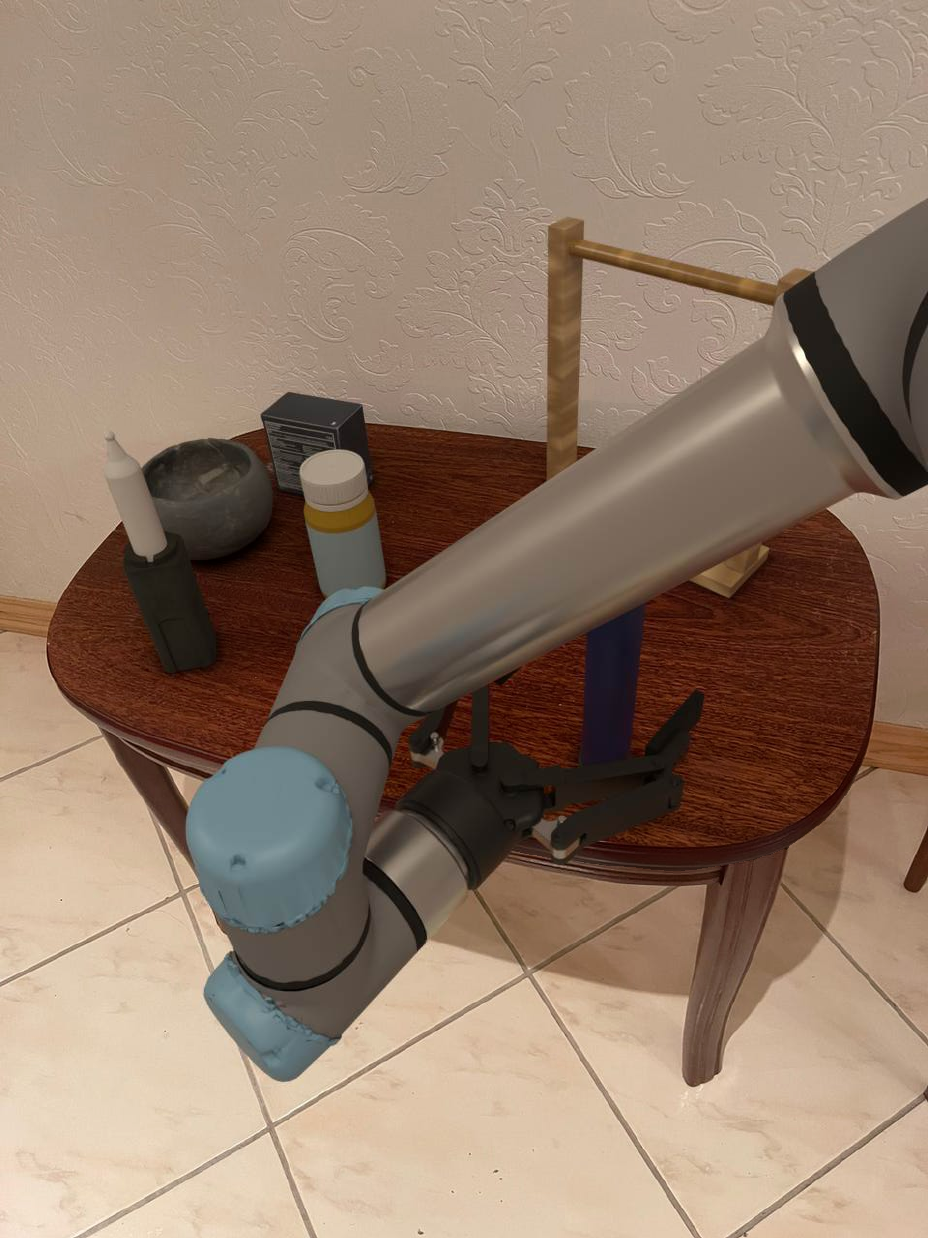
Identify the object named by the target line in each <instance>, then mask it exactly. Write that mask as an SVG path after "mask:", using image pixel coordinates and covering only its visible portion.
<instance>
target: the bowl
mask: <svg viewBox="0 0 928 1238" xmlns="http://www.w3.org/2000/svg"><path fill="white" fill-rule="evenodd" d="M141 470H142V473H143V475H144V478H145V481H146V484H147V487H148V489H149V492H150V495H151V498H152V501H153V503H154V506H155V509H156V512H157V515H158V517H159V520H160V523H161V526H162V529H163V531H167V532H170V533H176V534H179V535H181V537H182V538H183V541H184V544H185V547H186V550H187V553H188V556H189V559H190V561H191V560H192V561H208V560H209V561H210V560H216V559H219V558H222V557H226V556H228V555H232V554H234V553H236V552H237V551H241V549H244V548H246V546H248V545H250V544H251V543H252V542H254V541H255V540H256V539H257V538H258V537H259V536H260V535H261V534H262V533H263V532H264V531H265V529H266V528H267V526H268V525H269V523H270V520H271V518H272V511H273V506H274V505H273V503H274V495H273V493H274V492H273V485H272V481H271V478H270V475H269V473H268V470H267V468H266V467H265V465H264V463H263V461H262V460H261V459H260V458H259V456H258V455H257V453H255V452H254V450H253V449H252V448H250V447H249V446H248V445H245V444H243V443H241V442H239V441H235V440H231V439H226V438H214V437H208V438H199V439H193V440H187V441H182V442H180V443H178V444H174V445H171V446H168V447H166V448H165V449H163V450H162V451H160V452H158V453H157V454H155V455H154V456H153V457H151V458H150V459H149V460H147V462H145V463H144V465H142V467H141Z"/></svg>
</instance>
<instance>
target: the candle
mask: <svg viewBox="0 0 928 1238" xmlns="http://www.w3.org/2000/svg"><path fill="white" fill-rule="evenodd" d="M103 438H104V440H105V441H106V461H105V464H104V466H103V476H104V478H105V481H106V483H107V486H108V489H109V491H110V493H111V496H112V499H113V501H114V504H115V506H116V509H117V511H118V514H119V517H120V520H121V522H122V524H123V527H124V529H125V532H126V535H127V537H128V539H129V541H128V543H126V545H125V547H124V549H123V550H124V555H123V561H122V562H123V563H122V570H123V573H124V575H125V578H126V580H127V582H128V584H129V587H130V589H131V592H132V595H133V596H134V599H135V602H136V604H137V607H138V609H139V612H140V614H141V616H142V619H143V621H144V624H145V626H146V628H147V631H148V633H149V636H150V638H151V641H152V643H153V645H154V649H155V650H156V653H157V655H158V658H159V660H160V663H161V665H162V668H163V670H164V672H166V673H167V674H172V675H173V674H178V672H183V671H190V670H194V669H195V670H196V669H199V668H202V669H206V668H209V667H211V666H212V665H214V664H215V663H216V661H217V635H216V633H215V630H214V626H213V624H212V621H211V618H210V615H209V612H208V609H207V606H206V602H205V600H204V597H203V594H202V592H201V591H202V590H201V589H200V586H199V582H198V580H197V576H196V574H195V571H194V568H193V566H192V562H191V560H190V559H189V556H188V553H187V550H186V547H185V544H184V541H183V538H182V537H181V535H179V534H176V533H170V532H167V531H163V529H162V526H161V523H160V520H159V517H158V515H157V512H156V509H155V506H154V503H153V501H152V498H151V495H150V492H149V489H148V487H147V484H146V481H145V478H144V475H143V473H142V470H141V468H142V467H141V464H140V463H139V461H138V460H137V459H136V458H135V457H133V456H131V455H130V454H129V453H127V452H126V451H125V450H124V448H123V447H122V446H121V444H120V443H119V442H118V440H117V439H116V434H115V433H114V432H113V431H111V430H106V431H105V432H104V433H103Z"/></svg>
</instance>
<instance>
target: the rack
mask: <svg viewBox="0 0 928 1238" xmlns="http://www.w3.org/2000/svg"><path fill="white" fill-rule="evenodd" d="M584 235H585V220H584V219H579V218H575V217H572V216H565V217H563V218H561V219H559V220H557V221H555V222H553V223H551V224H549V225H548V226H547V335H546V337H547V341H546V342H547V344H546V345H547V347H546V348H547V349H546V350H547V351H546V352H547V353H546V354H547V355H546V357H547V360H546V361H547V362H546V365H547V366H546V368H547V369H546V373H547V374H546V391H547V392H546V399H547V400H546V482H547V481H548V480H550V479H551V478H553V477H554V476H556V475H557V474H559V473H560V472H562V471H563V470H565V469H566V468H568V467H569V466H571V465H572V464H574V463H575V462H577V461H578V460H577V459H578V434H579V433H578V432H579V431H578V430H579V429H578V428H579V397H580V366H581V363H580V362H581V338H582V337H581V333H582V305H583V304H582V302H583V301H582V299H583V274H584V273H583V272H584V271H583V269H584V260H586V261H592V262H594V263H597V264H603V265H606V266H610V267H615V268H617V269H618V268H619V269H621V270H622V269H623V270H626V271H631V272H635V273H639V274H643V275H647V276H651V277H654V278H659V279H663V280H666V281H671V282H675V283H678V284H682V285H687V286H690V287H695V288H698V289H702V290H707V291H710V292H714V293H719V294H722V295H725V296H726V295H727V296H730V297H735V298H738V299H743V300H747V301H750V302H754V303H759V304H762V305H766V306H771V307H772V312H771V315H772V314H773V311H774V307H775V303H776V300H777V298H778V296H780V295H781V294H783V293H784V292H785V291H787V290H788V289H790V288H791V287H793V286H794V285H796V284H797V283H798V282H800V281H801V280H803V279H804V278H806V277H807V276H809V275H810V274H812V273H813V272H814V271H812V270H807V269H803V268H799V267H794V268H792V270H790V271H789V272H787V273H785V274H784V275H783V276H782V277H780V278H779V279H778V280H777V283H776V284H772V283H769V282H764V281H760V280H756V279H752V278H749V277H748V278H747V277H743V276H738V275H735V274H732V273H726V272H722V271H718V270H715V269H714V270H713V269H710V268H705V267H701V266H697V265H692V264H688V263H684V262H680V261H676V260H672V259H666V258H663V257H659V256H654V255H650V254H646V253H642V252H637V251H633V250H630V249H626V248H620V247H617V246H612V245H608V244H604V243H599V242H596V241H591V240H587V239H585V238H584V237H585V236H584ZM771 318H772V316H771V317H770V319H771ZM769 552H770V547H768V546H766V545H763V544H762V542H761V543H759V544H757V545H755V546H753V547H751V548H749V549H747V550H745V551H743V552H742V553H740V554H738V555H736V556H734V557H732V558H730V559H728V560H726V561H724V562H722V563H720V564H718V565H716V566H714V567H713V568H711V569H709V570H707V571H705V572H703V573H701V574H699V575H697V576H695V577H693V578H691V579H689V580H688V581H690V582H691V583H694V584H696V585H698V586H700V587H702V588H705V589H707V590H709V591H711V592H714V593H716V594H719V595H721V596H723V597H725V598H728V599H730V598H731V597H732V596H733V595H734V594H735V593H736V592H737V590H739V589H740V588H741V587H742V585H743V584H744V583H745V582H746V581H747V580H748V579H750V577H751V576H752V575H753V574H754V573H755V572H756V571H757V570H758V569H759V568H760V567H761V566H762V565H763V564H764V563H765V562H766V561H767V560H768V556H769Z"/></svg>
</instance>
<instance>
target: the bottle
mask: <svg viewBox="0 0 928 1238" xmlns="http://www.w3.org/2000/svg"><path fill="white" fill-rule="evenodd" d="M300 479H301V483H302V488H303V492H304V496H303V497H304V500H305V502H304V506H303V515H304V521H305V526H306V531H307V535H308V539H309V544H310V549H311V553H312V556H313V562H314V566H315V572H316V576H317V581H318V586H319V588H320V593H321V594H322V596H323V597H324V598H325V600H326V599H327V598H328V597H329V596H331V595H332V594H334V593H336V592H338V591H340V590H342V589H346V588H347V589H359V588H361V587H364V586H366V587H375V588H380V589H383V590H384V589H385V587H386V583H387V574H386V573H387V572H386V567H385V566H386V565H385V560H384V554H383V547H382V546H383V545H382V540H381V533H380V527H379V521H378V514H377V507H376V502H375V499H374V497H373V495H372V494H371V492H370V490H369V486H368V485H367V477H366V471H365V465H364V461H363V460H362V458H361V457H360V456H359V455H358V454H356V453H354V452H351V451H347V450H328V451H323V452H320V453H317V454H315V455H313V456H311V457H309V458H308V459H306V460H305V461H304V462H303V463H302V465H301V467H300Z"/></svg>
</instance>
